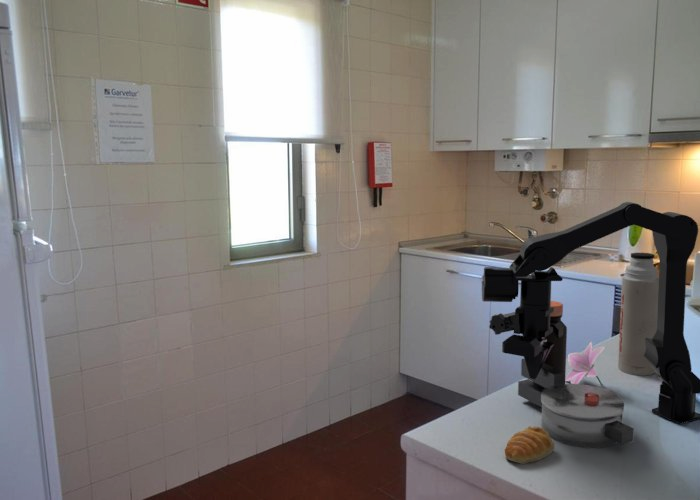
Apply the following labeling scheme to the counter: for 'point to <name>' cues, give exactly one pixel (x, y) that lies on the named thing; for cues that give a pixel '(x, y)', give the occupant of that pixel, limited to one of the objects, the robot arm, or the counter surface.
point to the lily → (583, 364)
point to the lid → (574, 396)
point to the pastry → (529, 445)
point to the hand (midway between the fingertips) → (532, 378)
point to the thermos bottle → (638, 313)
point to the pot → (577, 424)
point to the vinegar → (557, 341)
